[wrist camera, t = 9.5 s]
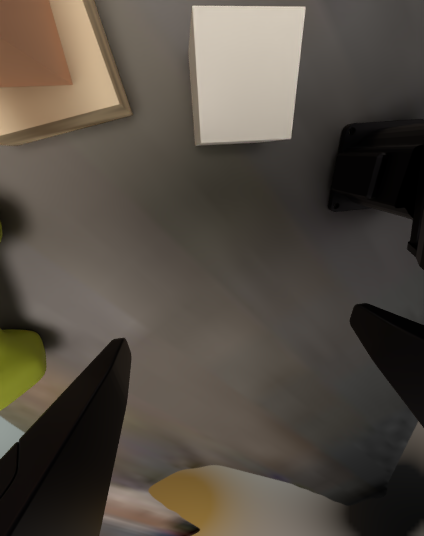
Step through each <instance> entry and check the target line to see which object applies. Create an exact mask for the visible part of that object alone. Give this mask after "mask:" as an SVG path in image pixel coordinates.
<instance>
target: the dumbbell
mask: <svg viewBox="0 0 424 536" xmlns="http://www.w3.org/2000/svg"><path fill="white" fill-rule="evenodd" d="M1 239H2V225H1V221H0V243H1ZM45 371H46V355H45V349H44V345H43V342H42V340H41V338H40V336H39V334H37V333H36V332H34V331H29V330H19V329H7V330H1V329H0V410H2V409H3V408H5V407H6V406H8V405H9V404H10V403H12V402H13V401H14V400H16V399H17V398H18V397H20V396H21V395H22V394H23V393H25V392H26V391H27V390H28V389H30V388H31V387H32V386H33V385H35V384H36V383H37V382H38V381H39V380H40V379H41V378H42V377H43V375H44V374H45Z"/></svg>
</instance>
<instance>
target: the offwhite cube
mask: <svg viewBox="0 0 424 536" xmlns="http://www.w3.org/2000/svg"><path fill="white" fill-rule="evenodd" d="M304 16H305V7H273V6H192V16H191V28H190V39H189V50H188V56H189V70H190V83H191V97H192V110H193V123H194V137H195V146H202V145H221V144H240V143H259V142H269V141H277V140H285V139H291V134H292V125H293V116H294V107H295V98H296V89H297V80H298V71H299V62H300V52H301V43H302V34H303V25H304Z"/></svg>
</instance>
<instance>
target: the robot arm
mask: <svg viewBox="0 0 424 536" xmlns="http://www.w3.org/2000/svg"><path fill="white" fill-rule="evenodd" d="M350 129H352V132H351V134H349V131H350ZM335 204H336V206H335V207H334V205H335ZM328 208H329V210H331V211H333V212H338V211H348V210H357V209H367V208H374V209H378V210H381V211H385V212H388V213H392V214H395V215H399V216H402V217H406V218H410V219H413V223H412V231H411V238H410V241H409V242H408V246H407V249H408V251H410V252H411V253H412V254H413V255H414V256H415V257H416V259H417V261H418V264H419V266H420V267H421V268H422V269H423V270H424V120H423V119H416V120H400V121H385V122H369V123H354V124H349V125H347V126H346V127H345V128H344V129H343V132H342V138H341V143H340V148H339V153H338V156H337V160H336V166H335V171H334V176H333V181H332V186H331V194H330V200H329V205H328ZM350 325H351V327H352V328H353V330H354V332H355V333H356V335H357V336H358V338H359V340H360V341H361V343H362V344H363V346H364V348H365V349H366V351H367V352H368V354H369V355H370V357H371V358H372V360H373V361H374V363H375V364H376V366H377V367H378V368H379V370H380V371H381V372H382V373H383V375H384V376H385V377H386V379H387V380H388V381H389V383H390V384H391V385H392V387H393V388H394V389H395V391H396V392H397V393H398V395H399V396H400V397H401V399H402V400H403V401H404V403H405V404H406V405H407V406H408V408H409V409H410V410H411V412H412V413H413V414H414V416H415V417H416V418H417V420H418V421H419V422H420V424H421V425H422V426H423V428H424V325H422V324H419V323H417V322H414V321H411V320H409V319H406V318H404V317H401V316H398V315H396V314H393V313H391V312H388V311H386V310H383V309H380V308H378V307H375V306H373V305H370V304H367V303H362V304H356V305H355V306H354V308H353V311H352V314H351V317H350ZM130 368H131V352H130V349H129V346H128V343H127V341H126V339H125V338H118V339H113V340H112V341H111V342H110V343H109V344H108V345H107V346H106V347H105V348H104V349H103V350H102V352H101V353H100V354H99V355H98V356H97V357H96V358H95V359H94V360H93V361H92V362H91V363H90V364H89V365H88V366H87V368H86V369H85V370H84V371H83V372H82V373H81V374H80V375H79V376H78V377H77V378H76V379H75V380H74V381H73V382H72V384H71V385H70V386H69V387H68V388H67V389H66V390H65V391H64V392H63V393H62V394H61V395H60V396H59V397H58V398H57V400H56V401H55V402H54V403H53V404H52V405H51V406H50V407H49V408H48V409H47V410H46V411H45V412H44V413H43V414H42V416H41V417H40V418H39V419H38V420H37V421H36V422H35V423H34V424H33V425H32V426H31V427H30V428H29V429H28V430H27V432H26V433H25V434H24V435H23V436H22V437H21V438H20V439H19V442H16V443H15V444H14V445H13V446H12V447H11V448H10V450H9V451H8V452H7V453H6V454H5V455H4V456H3V457H2V458H1V459H0V536H99V534H100V530H101V525H102V520H103V515H104V510H105V506H106V501H107V496H108V491H109V487H110V482H111V477H112V472H113V467H114V463H115V458H116V453H117V448H118V443H119V439H120V434H121V429H122V424H123V420H124V415H125V410H126V405H127V398H128V388H129V378H130Z"/></svg>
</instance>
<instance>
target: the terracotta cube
mask: <svg viewBox="0 0 424 536" xmlns="http://www.w3.org/2000/svg"><path fill="white" fill-rule="evenodd" d="M58 85H73V83H72V80H71V76H70V73H69V69H68V66H67V62H66V59H65V55H64V52H63V48H62V45H61V41H60V38H59V34H58V31H57V27H56V24H55V20H54V16H53V13H52V9H51V6H50V2H49V0H0V87H27V86H58Z"/></svg>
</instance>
